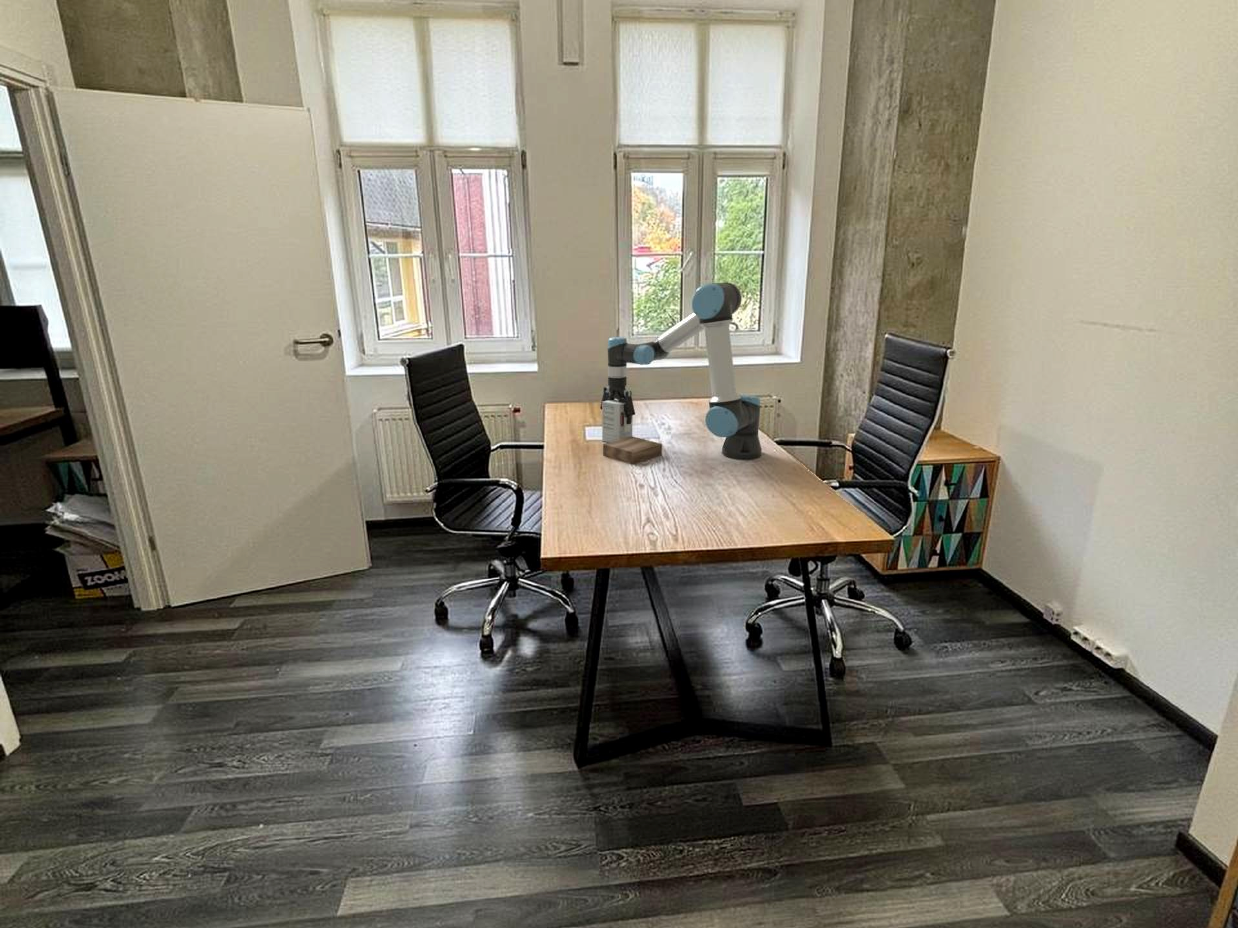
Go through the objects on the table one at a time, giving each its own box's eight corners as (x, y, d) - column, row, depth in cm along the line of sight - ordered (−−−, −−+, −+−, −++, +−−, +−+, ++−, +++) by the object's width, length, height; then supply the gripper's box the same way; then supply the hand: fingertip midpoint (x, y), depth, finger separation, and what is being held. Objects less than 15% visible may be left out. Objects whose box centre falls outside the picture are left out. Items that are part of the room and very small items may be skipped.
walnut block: (661, 456, 248) (662, 443, 247) (633, 465, 237) (633, 452, 236) (631, 448, 259) (631, 436, 257) (603, 456, 248) (603, 444, 247)
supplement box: (619, 445, 262) (619, 404, 257) (601, 441, 267) (601, 401, 262) (633, 439, 269) (633, 400, 264) (615, 436, 275) (615, 397, 269)
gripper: (644, 378, 255) (643, 432, 262) (604, 371, 270) (604, 422, 277) (631, 381, 250) (631, 436, 257) (591, 374, 265) (591, 426, 272)
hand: (617, 429), depth 267 cm, fingers open, 10 cm apart
